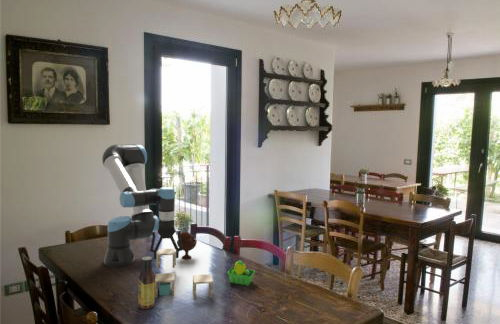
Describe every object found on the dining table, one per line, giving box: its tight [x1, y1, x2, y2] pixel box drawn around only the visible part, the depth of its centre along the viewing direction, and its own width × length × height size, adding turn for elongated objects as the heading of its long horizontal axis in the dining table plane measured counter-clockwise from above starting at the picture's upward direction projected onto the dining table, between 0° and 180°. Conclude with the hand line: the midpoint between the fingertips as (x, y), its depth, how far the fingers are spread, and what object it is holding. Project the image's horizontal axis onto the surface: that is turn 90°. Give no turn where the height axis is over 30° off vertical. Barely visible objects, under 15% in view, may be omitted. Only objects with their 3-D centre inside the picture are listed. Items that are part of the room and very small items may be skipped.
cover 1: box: [157, 248, 176, 269], centre depth 187 cm, size 8×8×7 cm
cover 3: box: [192, 273, 214, 300], centre depth 163 cm, size 8×8×7 cm
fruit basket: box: [227, 260, 255, 286], centre depth 177 cm, size 11×9×11 cm
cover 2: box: [154, 272, 176, 298], centre depth 164 cm, size 8×8×7 cm
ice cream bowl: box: [176, 231, 198, 261], centre depth 208 cm, size 11×11×15 cm
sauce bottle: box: [137, 255, 156, 310], centre depth 150 cm, size 6×6×20 cm
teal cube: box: [158, 282, 171, 296], centre depth 164 cm, size 4×4×4 cm
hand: (166, 264), depth 187 cm, fingers closed on cover 1, 8 cm apart
